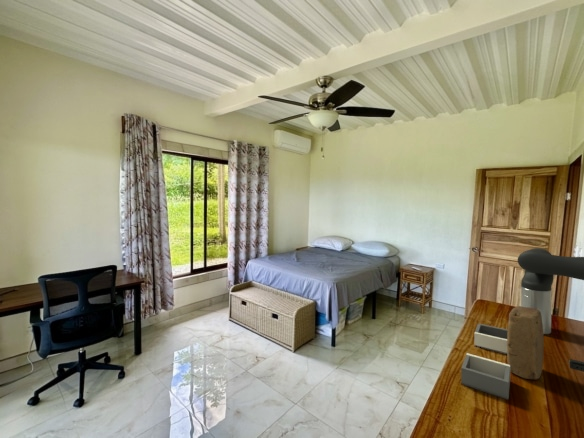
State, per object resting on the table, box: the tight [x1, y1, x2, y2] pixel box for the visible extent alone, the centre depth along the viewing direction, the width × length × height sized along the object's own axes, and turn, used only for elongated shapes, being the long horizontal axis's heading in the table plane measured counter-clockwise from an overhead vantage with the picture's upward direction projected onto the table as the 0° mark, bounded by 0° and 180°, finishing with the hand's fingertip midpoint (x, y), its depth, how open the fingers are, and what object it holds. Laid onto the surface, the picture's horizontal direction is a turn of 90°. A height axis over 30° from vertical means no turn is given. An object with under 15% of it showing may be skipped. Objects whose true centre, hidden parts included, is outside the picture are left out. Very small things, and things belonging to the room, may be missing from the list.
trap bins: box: [460, 323, 511, 401], centre depth 92 cm, size 37×11×5 cm, turn 140°
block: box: [506, 305, 545, 380], centre depth 86 cm, size 11×8×20 cm
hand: (569, 363), depth 80 cm, fingers closed
